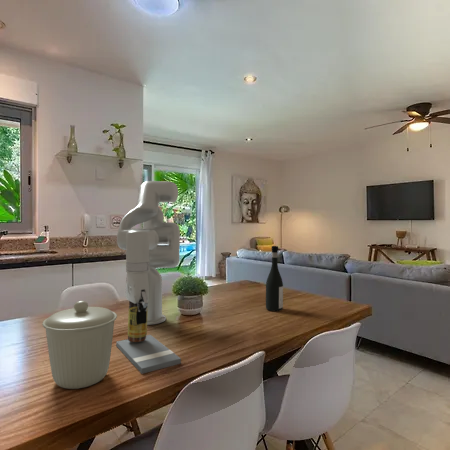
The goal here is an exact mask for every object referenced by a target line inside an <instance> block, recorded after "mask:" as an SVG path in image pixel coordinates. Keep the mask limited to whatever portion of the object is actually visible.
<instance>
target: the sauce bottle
mask: <svg viewBox="0 0 450 450" xmlns="http://www.w3.org/2000/svg"><path fill="white" fill-rule="evenodd" d="M139 302H143V301H142V300H139ZM141 305H142V304H140V306H141ZM147 306H148V305H147ZM137 312H138V310H137V303H136V304H134V303H132V302H131V301H129V300H128V315H127V317H128V318H127V339H128V340H129V341H130V342H141V341H144V340H145V339H146V335H148V334H147V333H148V325H147V322H146V323H143V324H137ZM147 314H148V309H147Z"/></svg>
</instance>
